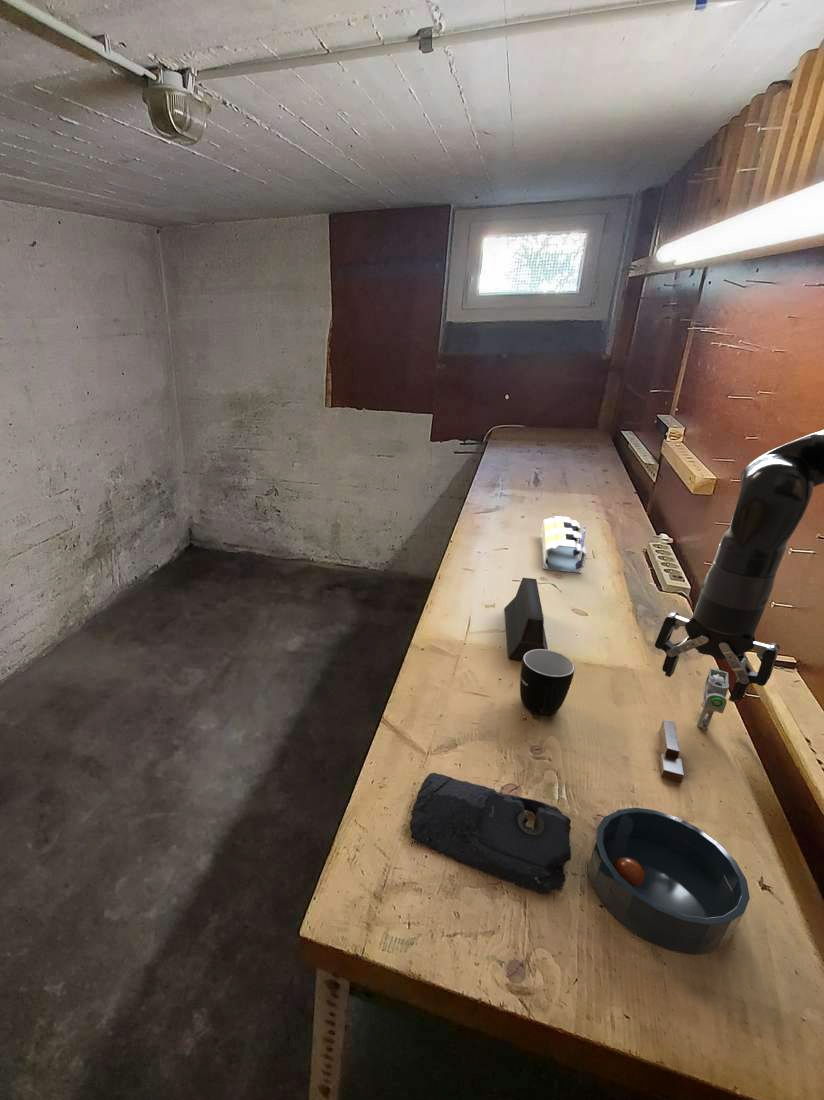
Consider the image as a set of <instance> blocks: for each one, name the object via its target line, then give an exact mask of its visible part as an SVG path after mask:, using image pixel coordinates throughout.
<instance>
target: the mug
mask: <svg viewBox="0 0 824 1100" xmlns="http://www.w3.org/2000/svg"><path fill="white" fill-rule="evenodd" d="M575 668H576V667H575V663H574V662H573V661H572V660H571V658H569V657H568V656H566V655H565V654H562V653H560V652H558V651H555V650H552V649H548V650H545V649H536V650H531V651H529V652H527V653H526V654H525V655H524V657H523V660H521V667H520V678H519V695H520V701H521V704H522V705H523V706H524V708H525V709H526V710H528V711H530V712H531V713H533V714H535V715H541V716H550V715H554V714H555V713H557V712H558V711H559V710H560V709H561V707H562V706H563V704H564V702H565V700H566V698H567V695H568V693H569V690H570V687H571V684H572V682H573V678H574V675H575Z"/></svg>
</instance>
